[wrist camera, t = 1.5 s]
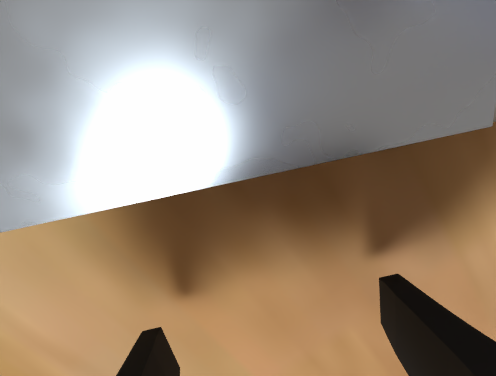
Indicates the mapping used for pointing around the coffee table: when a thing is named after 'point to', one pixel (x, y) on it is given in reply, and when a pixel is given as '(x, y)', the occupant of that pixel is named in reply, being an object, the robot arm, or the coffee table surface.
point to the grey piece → (223, 92)
